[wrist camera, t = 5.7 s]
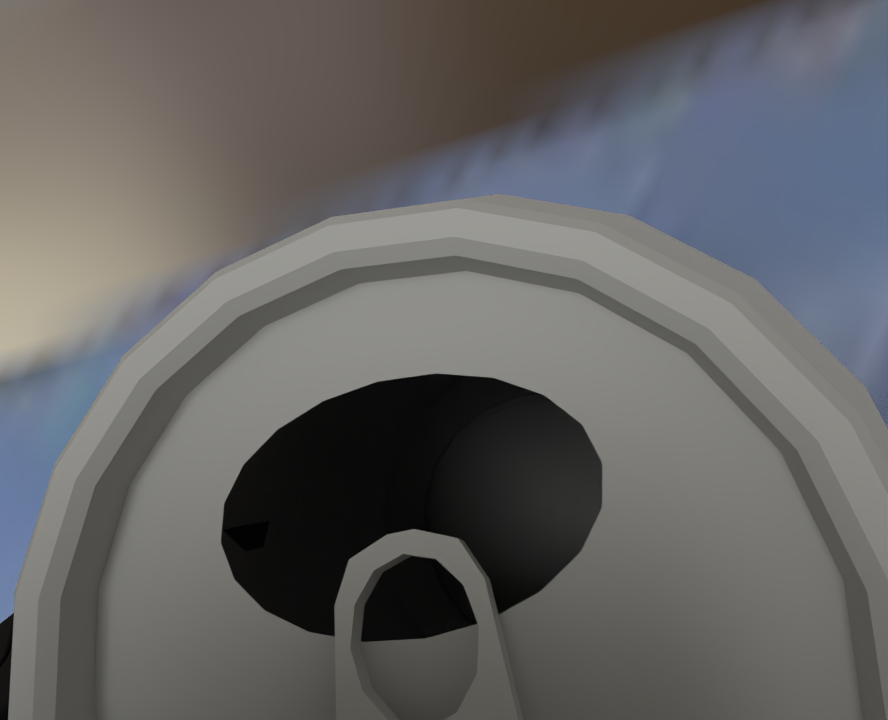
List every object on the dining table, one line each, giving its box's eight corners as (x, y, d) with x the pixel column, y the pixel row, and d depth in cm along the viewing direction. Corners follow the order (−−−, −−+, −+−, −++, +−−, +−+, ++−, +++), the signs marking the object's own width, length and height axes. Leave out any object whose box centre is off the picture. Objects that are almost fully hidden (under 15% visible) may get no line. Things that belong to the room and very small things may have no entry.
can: (670, 327, 16) (867, -65, 4) (764, 663, 14) (1503, 1565, 3) (370, 399, 17) (-119, 261, 5) (428, 713, 16) (-78, 1439, 4)
